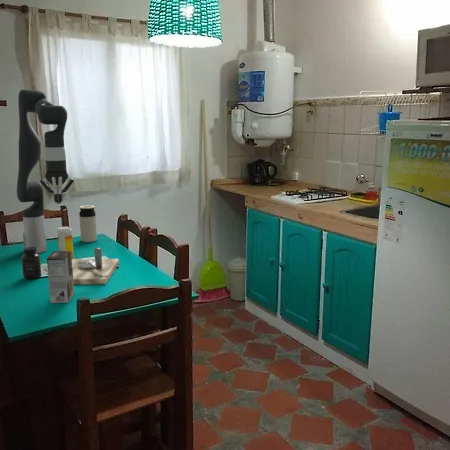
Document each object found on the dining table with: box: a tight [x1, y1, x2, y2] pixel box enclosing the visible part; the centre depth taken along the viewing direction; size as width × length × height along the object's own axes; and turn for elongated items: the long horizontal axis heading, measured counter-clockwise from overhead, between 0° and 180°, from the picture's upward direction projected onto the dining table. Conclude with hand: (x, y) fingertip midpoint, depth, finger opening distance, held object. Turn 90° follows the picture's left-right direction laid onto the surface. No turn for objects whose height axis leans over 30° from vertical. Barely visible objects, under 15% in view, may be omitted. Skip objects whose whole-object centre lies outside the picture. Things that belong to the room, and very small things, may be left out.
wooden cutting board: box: [72, 258, 120, 285], centre depth 194 cm, size 20×27×2 cm
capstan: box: [78, 247, 103, 272], centre depth 191 cm, size 21×9×10 cm, turn 32°
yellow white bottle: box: [57, 226, 75, 259], centre depth 210 cm, size 6×6×15 cm
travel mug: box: [78, 204, 98, 243], centre depth 245 cm, size 8×8×18 cm
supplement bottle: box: [20, 247, 42, 281], centre depth 188 cm, size 7×7×12 cm
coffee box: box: [46, 250, 75, 304], centre depth 166 cm, size 9×6×16 cm
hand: (58, 203), depth 187 cm, fingers closed
